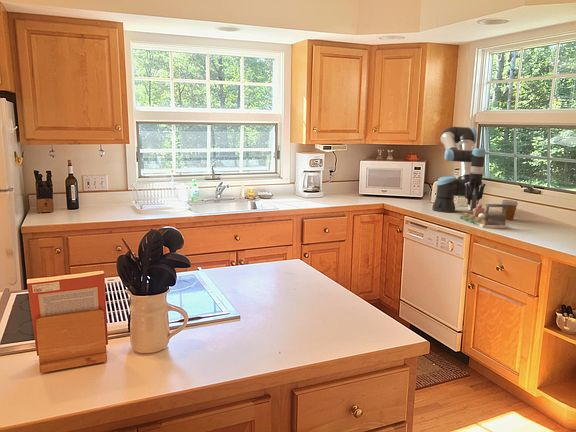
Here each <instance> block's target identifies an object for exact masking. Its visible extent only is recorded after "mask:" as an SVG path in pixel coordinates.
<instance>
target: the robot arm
mask: <svg viewBox="0 0 576 432" xmlns="http://www.w3.org/2000/svg"><path fill="white" fill-rule="evenodd" d="M477 137H478V136H477V130H476V129H475V128H474V127H469V126H467V127H465V126H448V127H446V128H445V129H443V131H442V132H440V136H439V138H440V139H439V140H440V142H441V144H442V145H443V147H444V149H445V151H444V157H443V158H444V161H446V162H456V163H457V162H459V176H458V177H456V176H451V175H450V176H442V177H441V176H440V177H439V178H438V179H437V184H436V194H435V199H434V202H433V204H432V205H431V206H432V207H431V208H432V209H431V210H433V211H436V212H438V213H439V212H440V213H455V212H456V205H455V200H454V199H455V197H464V198H465V199H467V203H466V204H467V210H468V211H470V210H471V206H472V200H471V198H472V195H477V202H476V208H478V207H477V205H478V204H479V201H480V200H483V195H484V191H485V187H486V183H483V181H482V180H483V177H484V176H483V175H484V174H483V173H484V166H485V158H486V149H485V148H479V147H478V148H476V147H475V148H473V147H474V146H475V144H476V143H477V140H478V139H477Z"/></svg>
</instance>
